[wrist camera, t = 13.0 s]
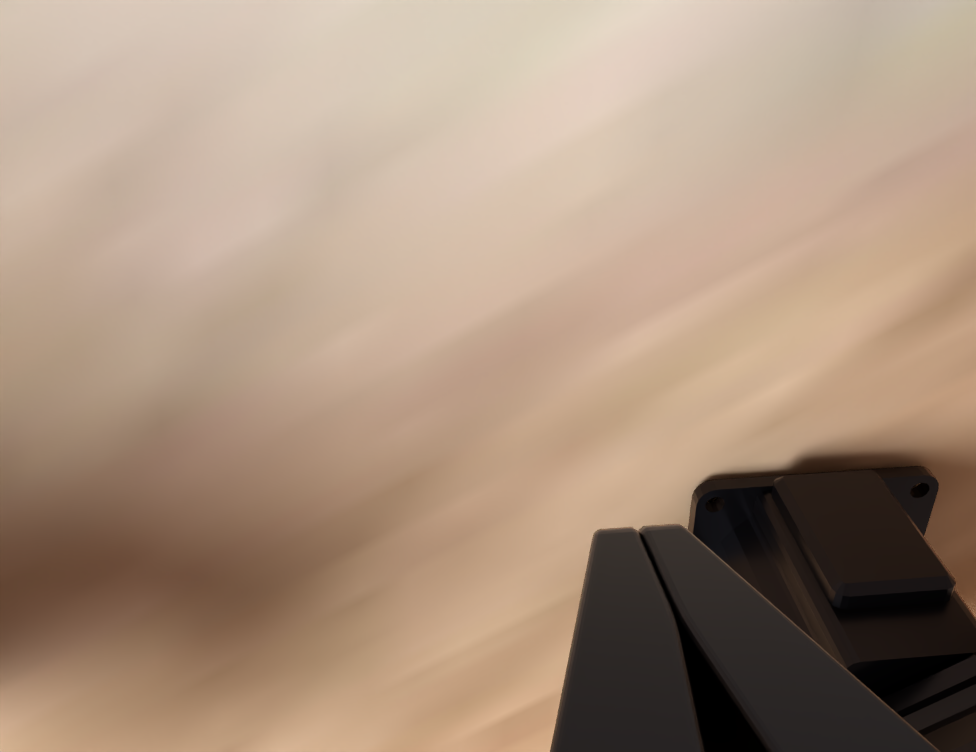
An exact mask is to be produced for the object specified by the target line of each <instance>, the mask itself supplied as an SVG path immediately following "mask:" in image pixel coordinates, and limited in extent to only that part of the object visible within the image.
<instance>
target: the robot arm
mask: <svg viewBox="0 0 976 752" xmlns="http://www.w3.org/2000/svg"><path fill="white" fill-rule="evenodd" d="M919 483H920V484H919ZM916 484H919V485H918V486H917V487H915V488H912V487H914V486H915V485H916ZM938 485H939V483H938V481H937V480H936V478H935V477H934V476H933V474H932V473H931V472H930V471H929V470H928V469H927V468H925V467H921V466H911V467H896V468H882V469H867V470H852V471H838V472H823V473H809V474H794V475H779V476H765V477H750V478H736V479H721V480H711V481H706V482H704V483H702V484H700V485H699V486H698V487H697V488H696V489H695V490H694V493H693V495H692V501H691V510H690V518H689V526H688V529H686V528H685V527H683V526H681V525H679V524H667V525H652V526H644V527H642V528H641V529H639V531H637V530H636V529H634V528H632V527H624V528H610V529H599V530H597V531H596V532H595V533H594V535H593V539H592V544H591V549H590V554H589V559H588V564H587V569H586V574H585V579H584V584H583V589H582V594H581V599H580V604H579V609H578V614H577V619H576V624H575V629H574V634H573V639H572V644H571V649H570V654H569V659H568V664H567V669H566V674H565V679H564V684H563V689H562V694H561V699H560V704H559V709H558V714H557V719H556V724H555V729H554V734H553V739H552V744H551V749H550V752H976V618H975V617H974V615H973V614H972V612H971V611H970V610H969V608H968V607H967V605H966V604H965V603H964V601H963V600H962V598H961V597H960V596H959V594H958V593H957V591H956V590H955V589H954V588H955V585H956V582H955V579H954V577H953V576H952V575H951V573H950V572H949V570H948V569H947V568H946V566H945V565H944V564H943V562H942V561H941V559H940V558H939V557H938V555H937V554H936V553H935V551H934V550H933V548H932V547H931V546H930V544H929V543H928V541H927V540H926V539H925V537H924V534H925V531H926V528H927V525H928V521H929V518H930V515H931V511H932V508H933V505H934V502H935V498H936V495H937V492H938ZM714 497H719V498H718V499H717V500H716V501H714V502H710V503H709V502H707V501H708V500H710V499H711V498H714Z"/></svg>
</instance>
